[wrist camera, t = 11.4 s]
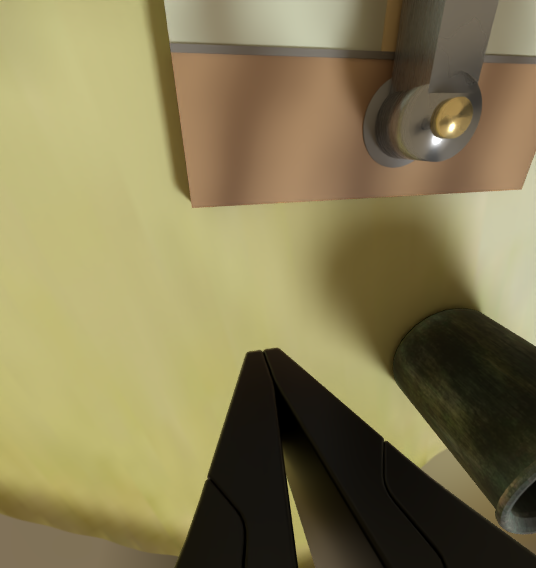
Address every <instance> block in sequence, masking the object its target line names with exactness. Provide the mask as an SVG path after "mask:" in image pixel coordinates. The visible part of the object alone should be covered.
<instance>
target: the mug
mask: <svg viewBox="0 0 536 568" xmlns="http://www.w3.org/2000/svg"><path fill="white" fill-rule="evenodd" d="M393 372H394V378H395V381H396V383H397V385H398V386H399V388H400V389H401V390H402V391H403V393H404V394H405V395H406V396H407V398H408V399H409V400H410V401H411V403H412V404H413V405H414V406H415V408H416V409H417V410H418V411H419V413H420V414H421V415H422V417H423V418H424V419H425V420H426V422H427V423H428V424H429V425H430V427H431V428H432V429H433V430H434V432H435V433H436V434H437V435H438V437H439V438H440V439H441V440H442V442H443V443H444V444H445V446H446V447H447V448H448V449H449V451H450V452H451V453H452V454H453V455H454V457H455V458H456V459H457V461H458V462H459V463H460V464H461V466H462V467H463V468H464V469H465V471H466V472H467V473H468V474H469V476H470V477H471V478H472V480H473V481H474V482H475V483H476V485H477V486H478V487H479V488H480V490H481V491H482V492H483V493H484V495H485V496H486V497H487V498H488V500H489V501H490V502H491V504H492V505H493V506H494V508H495V509H496V511H495V516H496V519H497V521H498V523H499V525H500V526H501V527H502V528H504V529H505V530H506V531H508V532H511V533H515V534H533V533H536V346H534V345H533V344H531V343H529V342H528V341H526V340H524V339H523V338H521V337H520V336H518V335H516V334H515V333H513V332H511V331H510V330H508V329H507V328H505V327H503V326H502V325H500V324H499V323H497V322H495V321H494V320H492V319H490V318H489V317H487V316H486V315H484V314H482V313H481V312H479V311H475V310H471V309H451V310H446V311H442V312H439V313H436V314H434V315H432V316H430V317H428V318H427V319H425V320H423V321H422V322H420V323H419V324H418V325H416V326H415V327H414V328H413V329H412V330H411V331H410V332H409V333H408V334H407V335H406V336H405V338H404V339H403V340H402V342H401V343H400V345H399V347H398V349H397V351H396V353H395V357H394V362H393Z"/></svg>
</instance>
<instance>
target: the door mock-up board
mask: <svg viewBox="0 0 536 568" xmlns="http://www.w3.org/2000/svg"><path fill="white" fill-rule="evenodd" d="M402 2H403V0H164V5H165V12H166V19H167V27H168V34H169V42H170V50H171V56H172V64H173V71H174V79H175V86H176V93H177V101H178V108H179V115H180V123H181V130H182V138H183V145H184V152H185V160H186V167H187V175H188V182H189V189H190V197H191V204H192V208H199V207H216V206H234V205H252V204H270V203H288V202H305V201H323V200H341V199H359V198H377V197H395V196H412V195H430V194H448V193H466V192H484V191H502V190H519V189H522V187H523V184H524V181H525V179H526V176H527V173H528V170H529V168H530V165H531V162H532V160H533V157H534V154H535V152H536V0H499V2H498V6H497V10H496V14H495V18H494V22H493V25H492V29H491V33H490V37H489V41H488V45H487V49H486V53H485V57H484V61H483V65H482V69H481V73H480V77H479V81H478V85H479V88H480V91H481V95H482V111H481V116H480V120H479V123H478V126H477V128H476V130H475V132H474V134H473V136H472V138H471V139H470V141H469V142H468V143H467V145H466V146H465V147H464V148H463V149H462V150H461V151H460V152H459V153H457V154H456V155H454V156H453V157H451V158H449V159H447V160H444V161H440V162H429V161H418V160H406V159H395V158H391V157H389V156H387V155H386V154H384V153H383V152H382V150H381V149H380V147H379V146H378V143H377V140H376V136H375V123H376V118H377V114H378V112H379V109H380V107H381V105H382V103H383V102H384V100H385V99H386V98H387V96H388V95H389V94H390V88H391V81H392V74H393V66H394V59H395V52H396V45H397V38H398V31H399V23H400V16H401V9H402Z"/></svg>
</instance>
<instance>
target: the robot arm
mask: <svg viewBox="0 0 536 568" xmlns="http://www.w3.org/2000/svg"><path fill="white" fill-rule="evenodd" d="M286 475H287V478H286ZM207 478H208V479H207V480H206V481H205V484H204V487H203V490H202V494H201V497H200V500H199V503H198V506H197V509H196V512H195V514H194V517H193V520H192V523H191V526H190V529H189V532H188V535H187V537H186V540H185V543H184V545H183V548H182V550H181V552H180V555H179V557H178V560H177V562H176V565H175V567H174V568H298V563H297V555H296V548H295V540H294V532H293V524H292V517H291V509H290V501H289V494H288V486H287V479H288V482H289V485H290V488H291V491H292V494H293V498H294V501H295V504H296V507H297V510H298V514H299V517H300V520H301V523H302V526H303V529H304V533H305V536H306V539H307V542H308V545H309V548H310V552H311V555H312V558H313V561H314V564H315V568H536V555H535V554H534V553H532V552H531V551H529V550H528V549H527V548H525V547H524V546H523V545H521V544H520V543H519V542H517V541H516V540H515V539H513V538H512V537H510V536H509V535H508V534H506V533H505V532H504V531H502V530H501V529H499V528H498V527H497V526H495V525H494V524H493V523H491V522H490V521H489V520H487V519H486V518H484V517H483V516H482V515H480V514H479V513H477V512H476V511H475V510H473V509H472V508H471V507H469V506H468V505H466V504H465V503H464V502H463V501H461V500H460V499H459V498H457V497H456V496H454V495H453V494H452V493H451V492H449V491H448V490H447V489H445V488H444V487H443V486H441V485H440V484H439V483H437V482H436V481H435V480H434V479H432V478H431V477H430V476H428V475H427V474H426V473H425V472H423V471H422V470H421V469H420V468H419V467H418V466H416V465H415V464H414V463H413V462H411V461H410V460H409V459H408V458H407V457H405V456H404V455H403V454H402V453H401V452H399V451H398V450H397V449H396V448H395V447H394V446H393V445H391V444H390V443H389V442H388V441H384V438H383V437H382V436H381V435H379V434H378V433H377V432H376V431H375V430H374V429H373V428H371V427H370V426H369V425H368V424H367V423H366V422H364V421H363V420H362V419H361V418H360V417H359V416H357V415H356V414H355V413H354V412H353V411H352V410H350V409H349V408H348V407H347V406H346V405H345V404H343V403H342V402H341V401H340V400H339V399H338V398H336V397H335V396H334V395H333V394H332V393H331V392H329V391H328V390H327V389H326V388H325V387H324V386H322V385H321V384H320V383H319V382H318V381H317V380H316V379H314V378H313V377H312V376H311V375H310V374H309V373H307V372H306V371H305V370H304V369H303V368H302V367H300V366H299V365H298V364H297V363H296V362H295V361H293V360H292V359H291V358H290V357H289V356H288V355H286V354H285V353H284V352H283V351H282V350H281V349H279V348H271V349H265V350H264V351H263V352H262V351H261V350H257V351H250V352H247V353H246V355H245V359H244V362H243V365H242V368H241V371H240V374H239V377H238V381H237V384H236V387H235V390H234V393H233V396H232V400H231V403H230V406H229V409H228V412H227V415H226V419H225V422H224V425H223V428H222V431H221V434H220V438H219V441H218V444H217V447H216V450H215V453H214V456H213V460H212V463H211V466H210V469H209V472H208V476H207Z"/></svg>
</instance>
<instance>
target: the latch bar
mask: <svg viewBox="0 0 536 568" xmlns="http://www.w3.org/2000/svg"><path fill="white" fill-rule="evenodd" d="M498 2H499V0H403V2H402V9H401V16H400V23H399V31H398V38H397V45H396V52H395V59H394V66H393V74H392V81H391V88H390V94H389V95H388V96H387V98H386V99H385V100H384V102H383V103H382V105H381V107H380V109H379V112H378V114H377V118H376V123H375V136H376V140H377V143H378V146H379V147H380V149H381V150H382V152H383V153H384V154H386V155H387V156H389V157H391V158H395V159H406V160H418V161H429V162H440V161H444V160H447V159H449V158H451V157H453V156H454V155H456V154H457V153H459V152H460V151H461V150H462V149H463V148H464V147H465V146H466V145H467V143H468V142H469V141H470V139H471V138H472V136H473V134H474V132H475V130H476V128H477V126H478V123H479V120H480V116H481V111H482V95H481V91H480V88H479V85H478V81H479V77H480V73H481V69H482V65H483V61H484V57H485V53H486V49H487V45H488V41H489V37H490V33H491V29H492V25H493V22H494V18H495V14H496V10H497V6H498Z"/></svg>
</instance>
